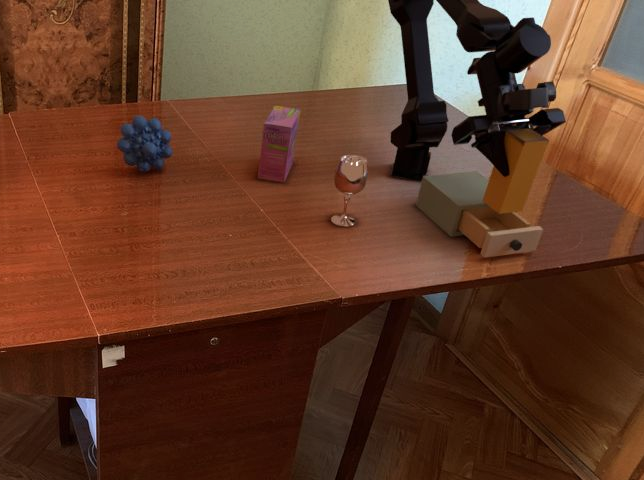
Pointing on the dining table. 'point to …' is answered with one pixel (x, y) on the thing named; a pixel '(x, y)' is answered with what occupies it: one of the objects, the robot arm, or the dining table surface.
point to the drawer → (498, 231)
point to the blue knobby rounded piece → (144, 143)
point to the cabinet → (451, 197)
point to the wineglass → (349, 183)
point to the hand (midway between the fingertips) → (519, 174)
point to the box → (278, 143)
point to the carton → (516, 171)
